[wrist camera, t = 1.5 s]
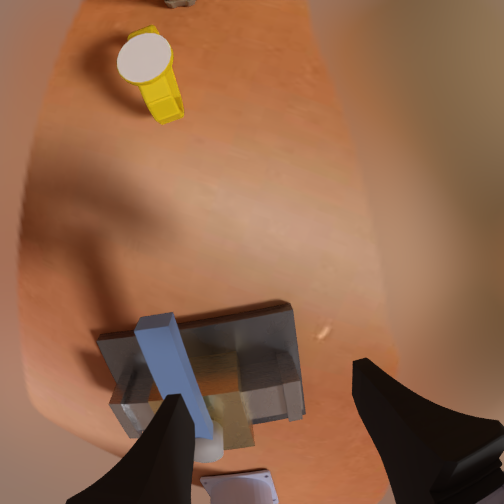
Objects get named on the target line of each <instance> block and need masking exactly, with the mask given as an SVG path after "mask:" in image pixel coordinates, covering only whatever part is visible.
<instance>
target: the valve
mask: <svg viewBox="0 0 504 504" xmlns="http://www.w3.org/2000/svg"><path fill="white" fill-rule="evenodd" d="M177 326H178V329H179V332H180V335H181V338H182V341H183V344H184V347H185V350H186V353H187V356H188V359H189V362H190V365H191V367H192V370H193V373H194V376H195V379H196V381H197V384H198V387H199V389H200V392H201V395H202V397H203V400H204V402H205V405H206V408H207V410H208V413H209V415H210V418H211V420H214V421H216V422H218V423H219V424H220V425H221V426H222V428H223V450H229V449H237V448H245V447H251V446H255V442H254V433H253V424H259V423H265V422H270V421H276V420H281V419H286V418H288V419H289V422H290V421H295V420H300V419H303V418H302V415H304V414H306V413H305V404H304V395H303V386H302V378H301V369H300V361H299V353H298V345H297V337H296V329H295V322H294V314H293V309H292V306H291V304H285V305H280V306H275V307H270V308H265V309H260V310H254V311H249V312H244V313H238V314H233V315H227V316H222V317H216V318H210V319H204V320H198V321H192V322H186V323H179V324H177ZM97 344H98V346H99V348H100V350H101V352H102V355H103V357H104V359H105V361H106V363H107V365H108V367H109V369H110V371H111V373H112V375H113V377H114V379H115V381H116V383H117V384H116V387H115V389H114V392H113V394H112V397H111V399H110V402H109V406H110V407H111V409H112V411H113V412H114V414H115V416H116V417H117V419H118V421H119V422H120V424H121V425H122V427H123V429H124V430H125V432H126V433H127V435H128V436H129V438H139V437H140V436H141V435H142V431H143V432H144V430H145V429H146V427H147V426H148V424H149V423H150V421H151V420H152V418H153V417H154V415H155V413H156V412H157V410H158V409H159V407H160V405H161V404H162V402H163V398H162V396H161V394H160V392H159V390H158V387H157V385H156V383H155V381H154V378H153V376H152V374H151V372H150V369H149V367H148V365H147V362H146V360H145V358H144V355H143V353H142V350H141V348H140V345H139V343H138V340H137V338H136V335H135V333H134V330H131V331H123V332H116V333H108V334H100V336H99V337H98V339H97Z"/></svg>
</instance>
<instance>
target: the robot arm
mask: <svg viewBox="0 0 504 504" xmlns="http://www.w3.org/2000/svg"><path fill="white" fill-rule="evenodd" d="M352 396H353V399H354V402H355V405H356V407H357V410H358V413H359V415H360V417H361V419H362V421H363V423H364V425H365V427H366V429H367V431H368V433H369V435H370V436H371V438H372V440H373V442H374V444H375V446H376V448H377V450H378V452H379V454H380V456H381V459H382V461H383V464H384V467H385V470H386V473H387V475H388V479H389V482H390V485H391V488H392V491H393V494H394V497H395V501H396V504H504V471H502V470H501V468H500V467H501V466H502V462H501V461H500V459H499V457H500V456H501V454H502V453H503V451H504V426H503V425H502V424H501V423H500V422H499V421H498V420H491V419H484V418H479V417H474V416H470V415H465V414H463V413H459V412H456V411H453V410H450V409H448V408H445V407H442V406H440V405H437V404H435V403H433V402H431V401H429V400H427V399H425V398H423V397H421V396H420V395H418V394H416V393H414V392H413V391H411V390H410V389H408V388H407V387H405V386H404V385H402V384H401V383H399V382H398V381H396V380H395V379H394V378H392V377H391V376H389V375H388V374H387V373H386V372H384V371H383V370H382V369H380V368H379V367H378V366H377V365H375V364H374V363H373V362H372V361H370V360H369V359H368V358H363V359H359V360H355V361H353V376H352ZM194 453H195V423H194V421H193V419H192V417H191V415H190V413H189V410H188V408H187V406H186V404H185V401H184V399H183V397H182V395H181V393H179V394H169V395H167V396H166V397H165V399H164V400H163V402H162V404H161V405H160V407H159V409H158V410H157V412H156V413H155V415H154V417H153V418H152V420H151V421H150V423H149V424H148V426H147V427H146V429H145V430H144V432H143V433H142V435H141V436H140V437H139V439H138V440H137V441H136V443H135V444H134V445H133V447H132V448H131V449H130V450H129V451H128V453H127V454H126V455H125V456H124V457H123V458H122V459H121V460H120V461H119V462H118V463H117V464H116V465H115V466H114V467H113V468H112V469H111V470H110V471H109V472H107V473H106V474H105V475H104V476H103V477H102V478H100V479H99V480H98V481H96V482H95V483H94V484H92V485H91V486H89V487H88V488H86V489H85V490H83V491H81V492H80V493H78V494H76V495H75V496H73V497H71V498H70V499H68V500H67V501H66V504H191V482H192V472H193V463H194ZM200 482H201V483H202V485H203V486H204V488H205V490H206V491H207V492H208V494H209V496H210V497H211V504H278V503H279V500H278V497H277V494H276V490H275V487H274V484H273V480H272V477H271V474H270V471H269V470H262V471H255V472H248V473H240V474H231V475H221V476H209V477H201V478H200Z"/></svg>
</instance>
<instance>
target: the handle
mask: <svg viewBox="0 0 504 504" xmlns="http://www.w3.org/2000/svg"><path fill="white" fill-rule="evenodd" d="M195 1H196V0H164V2H165V3H166V5H167V6H168V7H170V8H176V7H178V6H192V5H194V4H195Z"/></svg>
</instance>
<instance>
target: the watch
mask: <svg viewBox="0 0 504 504" xmlns="http://www.w3.org/2000/svg"><path fill="white" fill-rule="evenodd" d="M127 40H128V42H127V43H126V44H125V45H124V46H123V47H122V49H121V50H120V52H119V54H118V58H117V70H118V72H119V74H120V76H121V77H122V78H123V79H124V80H125V81H127V82H128V83H130V84H132V85H135V86H138V87H139V90H140V92H141V94H142V97H143V99H144V102H145V104H146V106H147V108H148V109H149V111H150V113H151V114H152V116H153V118H154V119H155V120H156V121H157V122H158V123H160V124H162V125H163V124H166V123H169V122H172V121H174V120H177V119H180V118H183V116H184V107H183V102H182V98H181V95H180V92H179V88H178V85H177V82H176V79H175V75H174V72H173V69H172V63H173V59H174V57H173V50H172V48H171V46H170V44H169V42H168V41H167V40H166V39H165V38H164V37H162V36H161V35H160V34H159V32H158V30H157V29H156V27H155V26H154V25H149V26H147V27H144V28H142V29H139V30H137V31H134V32H132V33H131V34H129V36H128V38H127Z"/></svg>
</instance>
